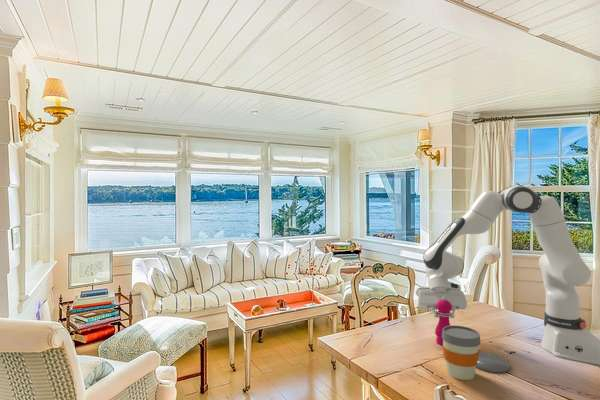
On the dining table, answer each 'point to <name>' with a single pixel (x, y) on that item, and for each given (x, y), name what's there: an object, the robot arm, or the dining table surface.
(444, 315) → the pepper mill
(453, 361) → the reusable coffee cup
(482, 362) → the plate
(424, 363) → the dining table surface
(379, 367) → the dining table surface
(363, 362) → the dining table surface
